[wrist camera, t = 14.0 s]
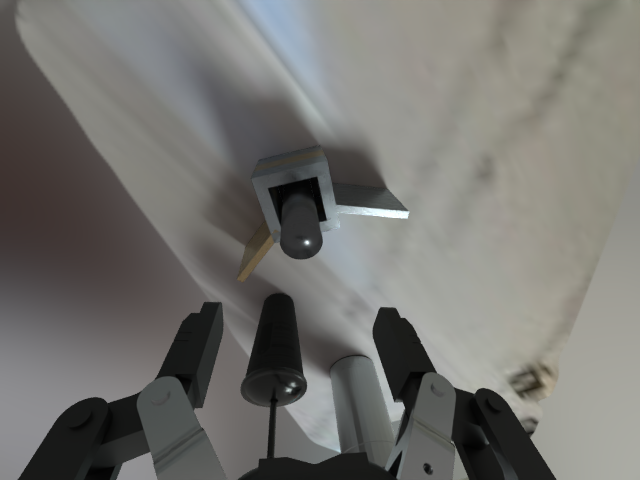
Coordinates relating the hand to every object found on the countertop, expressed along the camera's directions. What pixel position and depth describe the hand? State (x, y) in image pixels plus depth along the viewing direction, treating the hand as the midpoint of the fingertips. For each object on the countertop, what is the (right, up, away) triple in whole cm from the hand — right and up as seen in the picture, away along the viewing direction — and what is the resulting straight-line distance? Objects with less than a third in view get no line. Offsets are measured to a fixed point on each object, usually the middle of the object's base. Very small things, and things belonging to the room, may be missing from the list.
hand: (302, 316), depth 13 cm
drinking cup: (-6, -6, +28) cm, 30 cm away
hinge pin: (-2, +11, +18) cm, 21 cm away
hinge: (-1, +9, +19) cm, 21 cm away
